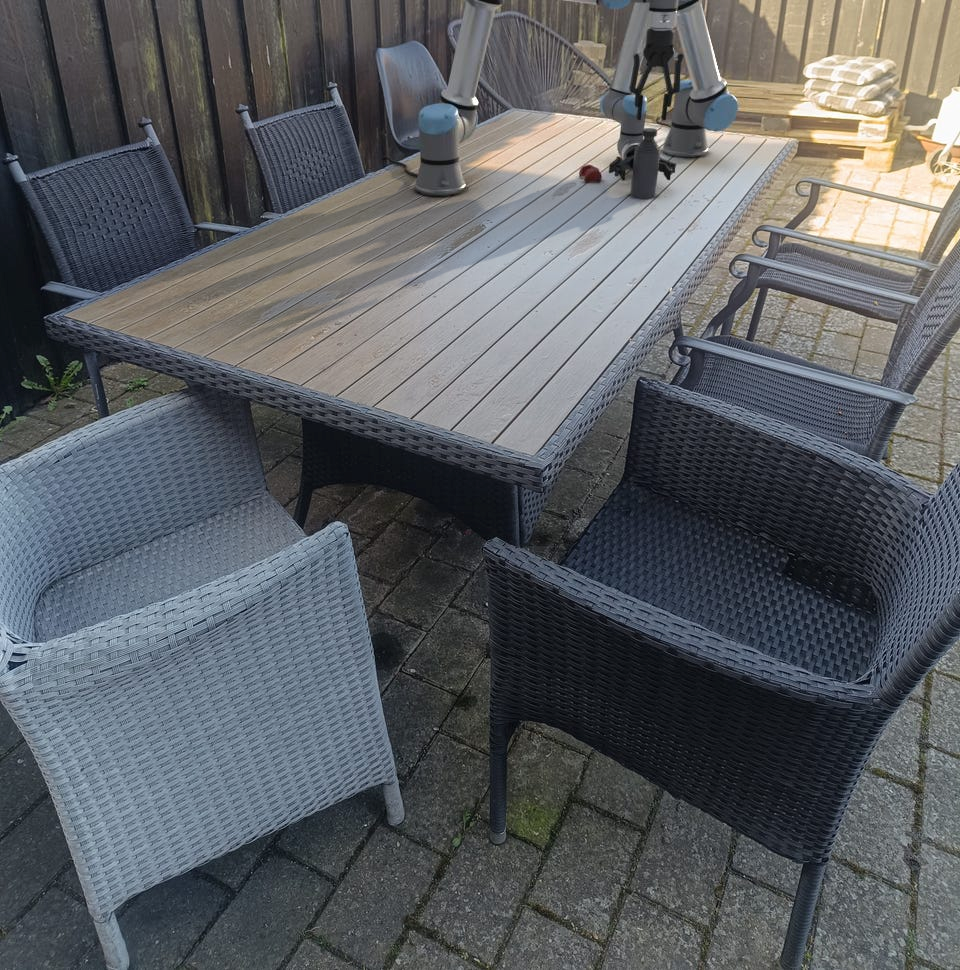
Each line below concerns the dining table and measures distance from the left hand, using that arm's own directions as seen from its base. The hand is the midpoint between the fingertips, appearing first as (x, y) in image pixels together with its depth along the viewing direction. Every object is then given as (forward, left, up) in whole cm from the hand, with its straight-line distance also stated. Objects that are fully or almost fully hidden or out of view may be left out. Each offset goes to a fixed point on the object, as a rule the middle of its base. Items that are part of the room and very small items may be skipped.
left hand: (651, 119), depth 242 cm
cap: (0, 0, -3) cm, 3 cm away
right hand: (+2, -3, -15) cm, 15 cm away
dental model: (-21, +4, -22) cm, 31 cm away
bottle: (0, 0, -22) cm, 22 cm away
